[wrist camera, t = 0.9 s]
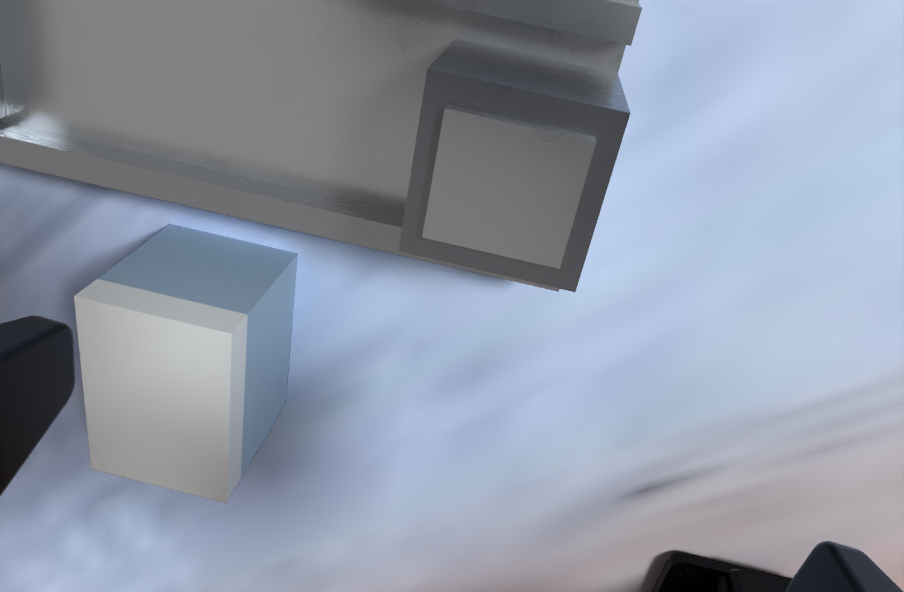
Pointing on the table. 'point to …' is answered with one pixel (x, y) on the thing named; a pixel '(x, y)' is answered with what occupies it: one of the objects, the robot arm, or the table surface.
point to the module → (186, 359)
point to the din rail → (337, 116)
